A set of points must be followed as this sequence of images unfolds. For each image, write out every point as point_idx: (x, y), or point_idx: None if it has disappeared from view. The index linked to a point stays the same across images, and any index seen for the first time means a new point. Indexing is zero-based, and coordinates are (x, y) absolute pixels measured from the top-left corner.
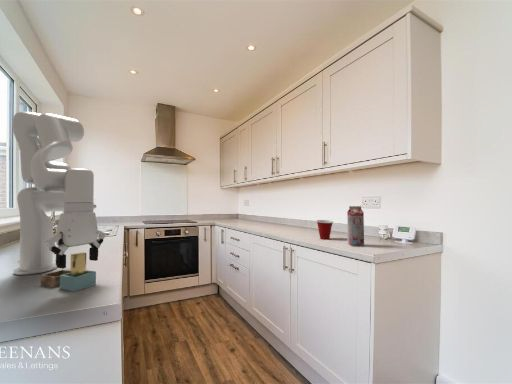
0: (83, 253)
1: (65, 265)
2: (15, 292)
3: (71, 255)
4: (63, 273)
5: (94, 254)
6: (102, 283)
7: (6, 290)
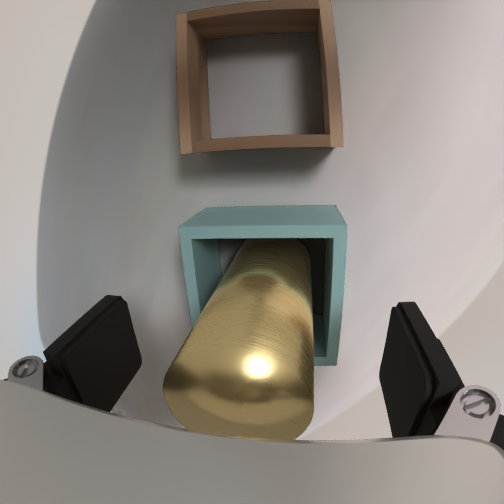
0: (272, 430)
1: (131, 375)
2: (93, 72)
3: (165, 391)
4: (318, 24)
5: (390, 403)
6: (353, 336)
7: (95, 10)
